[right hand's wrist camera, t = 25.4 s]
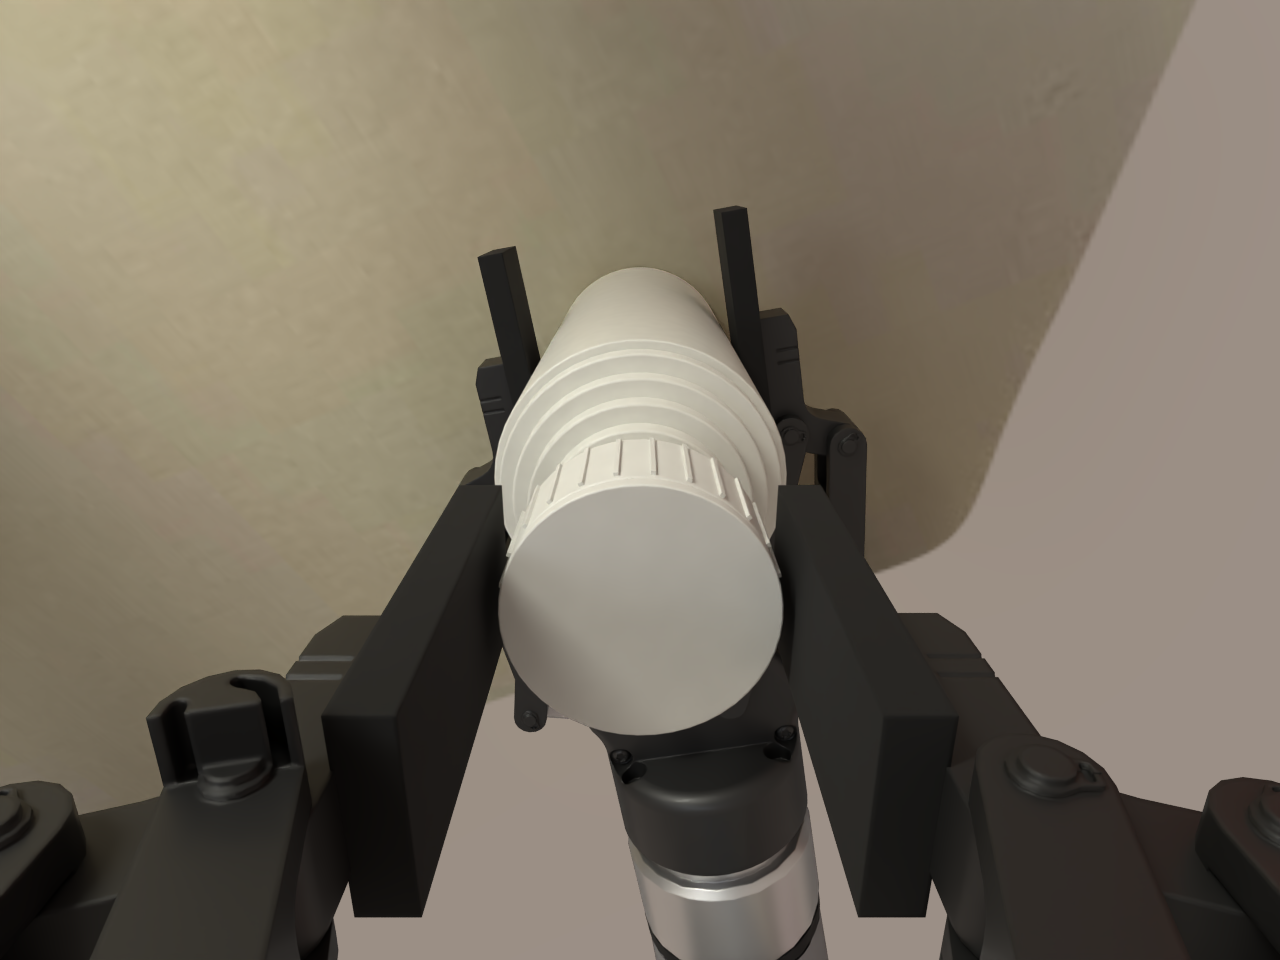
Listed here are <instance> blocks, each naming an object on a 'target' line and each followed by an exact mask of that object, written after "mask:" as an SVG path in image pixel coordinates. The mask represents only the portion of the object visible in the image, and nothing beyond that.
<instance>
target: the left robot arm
mask: <svg viewBox="0 0 1280 960" xmlns="http://www.w3.org/2000/svg"><path fill="white" fill-rule="evenodd" d="M713 212H714V219H715V227H716V234H717V242H718V249H719V257H720V264H721V271H722V279H723V286H724V294H725V301H726V309H727V316H728V324H729V331H730V338H731V345H732V347H733V349H734V350H735V352H736V354H737V356H738V357H739V359H740V361H741V363H742V364H743V366H744V368H745V370H746V371H747V373H748V375H749V377H750V378H751V380H752V382H753V384H754V385H755V387H756V389H757V391H758V392H759V394H760V396H761V398H762V399H763V401H764V403H765V405H766V407H767V408H768V410H769V412H770V414H771V416H772V417H773V419H774V421H775V424H776V426H777V429H778V431H779V434H780V437H781V440H782V444H783V449H784V453H785V461H786V472H787V476H786V485H798V481H799V477H800V473H801V469H802V465H803V461H804V457H805V453H806V452H807V453H813V454H815V485H821V486H822V488H823V490H824V491H825V493H826V495H827V496H828V498H829V500H830V501H831V503H832V505H833V506H834V508H835V510H836V511H837V513H838V515H839V516H840V518H841V520H842V521H843V523H844V525H845V526H846V528H847V530H848V531H849V533H850V535H851V536H852V538H853V540H854V541H855V543H856V545H857V546H858V548H859V550H860V551H861V553H862V555H863V556H864V541H865V501H866V462H867V442H866V438H865V436H864V435H863V433H862V432H861V431H860V430H859V429H858V428H857V426H856V425H855V424H854V423H853V422H852V421H851V420H850V419H849V418H848V416H847V415H846V414H845V413H844V412H842V411H841V410H839V409H828V410H822V409H817V408H812V407H809V406H807V405H805V403H804V398H803V388H802V379H801V369H800V361H799V350H798V341H797V331H796V328H795V326H794V324H793V322H792V320H791V319H790V317H789V315H788V314H787V313H786V312H785V311H784V310H783V309H782V308H777V309H771V310H766V311H760V312H759V305H758V297H757V289H756V280H755V272H754V264H753V255H752V247H751V239H750V230H749V222H748V214H747V208H745V207H740V206H731V207H726V208H720V209H715V210H713ZM478 261H479V266H480V270H481V274H482V278H483V282H484V287H485V291H486V295H487V299H488V303H489V308H490V312H491V316H492V320H493V325H494V329H495V333H496V337H497V341H498V346H499V350H500V354H501V357H495V358H490V359H486V360H485V361H484V362H483V363H482V364H481V365H480V366H479V368H478V371H477V379H476V388H477V392H478V396H479V399H480V403H481V407H482V411H483V415H484V419H485V423H486V427H487V431H488V435H489V439H490V443H491V447H492V451H493V460H491V461H490V462H488V463H486V464H485V465H483V466H481V467H475V468H473V469H471V470H469V471H468V472H467V474H466V475H465V476H464V478H463V480H462V481H461V483H460V485H495V478H494V477H495V459H496V454H497V449H498V444H499V440H500V437H501V435H502V432H503V429H504V426H505V424H506V422H507V420H508V418H509V416H510V414H511V412H512V410H513V408H514V406H515V405H516V403H517V401H518V399H519V397H520V396H521V394H522V392H523V390H524V389H525V387H526V385H527V383H528V382H529V380H530V378H531V376H532V374H533V373H534V371H535V369H536V367H537V366H538V364H539V362H540V360H541V359H540V355H539V350H538V346H537V341H536V337H535V332H534V328H533V323H532V319H531V314H530V310H529V305H528V301H527V296H526V291H525V287H524V282H523V278H522V273H521V269H520V264H519V260H518V255H517V251H516V246H513V247H507V248H502V249H497V250H492V251H490V252H488V253H486V254H483V255H481V256H479V257H478ZM504 527H505V525H504ZM511 540H512V539H511V537H510V536H509V534H508V532H507V530H506V528H505V542H506V554H507V551H508V548H509V546H510V543H511ZM774 542H775V530H774V532H773V534H772V536H771V538H770V543H771V547H772V550H773V553H774ZM506 558H507V559H508V557H507V556H506ZM502 647H503V650H504V652H505V655H506V657H507V660H508V662H509V665H510V667H511V670H512V673H513V675H514V678H515V707H514V719H515V723H516V725H517V726H518V727H519V728H520V729H522V730H523V731H527V732H536V731H538V730H540V729H542V728H543V727H544V726H545V723H546V720H547V717H551V718H567V719H569V718H568V717H566V716H564V715H562V714H561V713H559V712H557V711H555V710H554V709H553V708H551V707H550V706H549V705H547V704H546V703H545V702H543V701H542V700H541V699H540V698H539V697H538V696H537V695H536V694H535V693H534V692H533V691H532V690H530V688H529V687H528V686H527V685H526V683H525V682H524V681H523V680H522V679H521V677H520V676H519V674H518V673H517V671H516V669H515V668H514V666H513V665H512V663H511V661H510V659H509V656H508V654H507V652H506V650H505V647H504V644H503V646H502ZM798 717H799V716H798V713H797V710H796V706H795V703H794V700H793V696H792V693H791V690H790V686H789V683H788V680H787V676H786V673H785V669H784V666H783V663H782V659H781V656H780V653H779V649H778V646H777V649H776V652H775V654H774V656H773V658H772V660H771V662H770V664H769V666H768V668H767V669H766V671H765V672H764V674H763V675H762V676H761V678H760V679H759V681H758V682H757V683H756V684H755V685H754V687H753V688H752V689H751V690H750V691H749V692H748V693H747V694H746V695H745V696H744V697H743V698H742V699H740V700H739V701H738V702H737V703H736V704H735V705H733V706H732V707H730V708H729V709H727V710H726V711H724V712H723V713H721V714H720V715H718V716H716V717H714V718H712V719H710V720H708V721H706V722H704V723H701V724H698V725H696V726H693V727H691V728H687V729H683V730H679V731H676V732H671V733H664V734H657V735H625V734H617V733H611V732H606V731H602V730H598V729H595V728H592V727H590V729H591V730H592V731H593V732H594V733H595V734H596V735H597V736H598V737H599V738H600V739H601V741H602V742H603V743H604V745H605V747H606V749H607V752H608V757H609V761H610V765H611V769H612V774H613V778H614V782H615V786H616V791H617V795H618V799H619V804H620V808H621V812H622V817H623V821H624V825H625V829H626V832H627V834H628V836H629V841H628V844H629V848H630V852H631V856H632V860H633V864H634V869H635V872H636V877H637V881H638V885H639V889H640V893H641V897H642V901H643V906H644V910H645V915H646V919H647V922H648V926H649V930H650V933H651V936H652V941H653V946H654V952H655V957H656V960H828V955H827V949H826V943H825V937H824V931H823V925H822V919H821V913H820V899H819V891H818V890H819V881H818V874H817V866H816V859H815V852H814V844H813V837H812V830H811V822H810V815H809V810H808V807H807V790H806V782H805V774H804V766H803V758H802V750H801V742H800V734H799V727H798Z"/></svg>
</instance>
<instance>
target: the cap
mask: <svg viewBox="0 0 1280 960" xmlns="http://www.w3.org/2000/svg"><path fill="white" fill-rule="evenodd" d="M506 556H507V557H508V559H507V562H506V565H505V568H504V571H503V574H502V576H501V579H500V582H499V588H500V592H499V597H498V619H499V628H500V633H501V637H502V640H503V644H504V647H505V650H506V652H507V654H508V656H509V659H510V661H511V663H512V665H513V666H514V668H515V669H516V671H517V673H518V674H519V676H520V677H521V679H522V680H523V681H524V682H525V683H526V685H527V686H528V687H529V688H530V690H532V691H533V692H534V693H535V694H536V695H537V696H538V697H539V698H540V699H541V700H542V701H543V702H545V703H546V704H547V705H549V706H550V707H551V708H553V709H554V710H555V711H557V712H559V713H561V714H562V715H564V716H566V717H568V718H569V719H571V720H574V721H576V722H578V723H581V724H583V725H585V726H588V727H592V728H595V729H598V730H602V731H606V732H611V733H617V734H625V735H657V734H664V733H671V732H676V731H679V730H683V729H687V728H691V727H693V726H696V725H698V724H701V723H704V722H706V721H708V720H710V719H712V718H714V717H716V716H718V715H720V714H721V713H723V712H724V711H726V710H727V709H729V708H730V707H732V706H733V705H735V704H736V703H737V702H738V701H739V700H740V699H742V698H743V697H744V696H745V695H746V694H747V693H748V692H749V691H750V690H751V689H752V688H753V687H754V685H755V684H756V683H757V682H758V681H759V679H760V678H761V676H762V675H763V674H764V672H765V671H766V669H767V668H768V666H769V664H770V662H771V660H772V658H773V656H774V654H775V652H776V649H777V645H778V642H779V639H780V636H781V631H782V625H783V614H784V601H783V594H782V586H781V583H780V579H779V578H780V577H782V576H781V572H780V569H779V566H778V564H777V561H776V558H775V555H774V553H773V550H772V547H771V543H770V540H769V537H768V535H767V532H766V529H765V526H764V524H763V521H762V518H761V515H760V513H759V510H758V507H757V505H756V503H755V502H754V503H752V502H751V500H750V499H749V497H748V496H747V494H746V493H745V491H744V489H743V488H742V485H741V482H740V480H739V479H738V477H737V478H735V479H734V477H733V476H731V475H730V474H729V473H728V472H727V471H726V470H725V469H724V468H723V467H721V466H720V465H719V464H717V461H716V459H715V458H713V457H712V458H711V459H710V458H708V457H707V456H705V455H703V454H701V453H699V452H697V451H695V450H692V449H690V448H687V445H686V444H682V446H681V445H678V444H674V443H669V442H665V441H659V440H655V439H654V438H652V437H650V439H649V440H647V439H636V440H623V441H621V438H620V439H616V442H611V443H607V444H604V445H601V446H597V447H594V448H592V449H590V448H589V447H588V448H585V449H584V452H583V453H581V454H578V455H577V456H575V457H574V458H572V459H570V460H569V461H567V462H565V463H564V464H563V465H562V464H561V463H560V464H558V465H557V467H556V470H555V471H554V472H553V473H552V474H551V475H550V476H549V477H548V478H547V479H546V480H545V481H544V483H543V484H542V485H541V486H539V485H537V486H536V488H535V490H534V493H533V496H532V499H531V502H530V504H529V506H528V507H527V509H526V512H524V511H522V512H521V515H520V518H519V521H518V523H517V526H516V529H515V532H514V534H513V537H512V540H511V543H510V546H509V548H508V551H507V554H506Z"/></svg>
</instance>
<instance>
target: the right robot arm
mask: <svg viewBox="0 0 1280 960" xmlns="http://www.w3.org/2000/svg"><path fill="white" fill-rule="evenodd" d="M774 555H775V558H776V561H777V564H778V566H779V569H780V572H781V576H782V577H780V578H779V579H780V583H781V586H782V594H783V601H784V614H783V625H782V631H781V636H780V639H779V642H778V645H777V646H778V649H779V653H780V656H781V659H782V663H783V666H784V669H785V673H786V676H787V680H788V683H789V686H790V690H791V693H792V696H793V700H794V703H795V706H796V710H797V713H798V716H799V720H800V723H801V727H802V730H803V733H804V737H805V740H806V743H807V747H808V750H809V753H810V757H811V760H812V763H813V767H814V770H815V773H816V777H817V780H818V784H819V787H820V790H821V794H822V797H823V800H824V804H825V807H826V811H827V814H828V817H829V821H830V824H831V827H832V831H833V834H834V837H835V841H836V844H837V847H838V851H839V854H840V857H841V861H842V864H843V867H844V871H845V874H846V878H847V881H848V884H849V888H850V891H851V894H852V898H853V901H854V905H855V908H856V911H857V914H858V917H926V911H927V905H928V899H929V893H930V887H931V881H932V879H933V882H934V884H935V886H936V889H937V891H938V894H939V896H940V898H941V901H942V903H943V906H944V908H945V910H946V913H947V919H946V925H945V930H944V936H943V942H942V947H941V953H940V958H939V960H1280V783H1277V782H1274V781H1269V780H1261V779H1253V778H1245V777H1241V778H1234V779H1228V780H1221V781H1220V782H1219V783H1218V784H1216V785H1215V786H1214V787H1213V788H1212V789H1210V790H1209V793H1208V796H1207V799H1206V802H1205V805H1204V809H1203V812H1200V811H1195V810H1191V809H1186V808H1182V807H1177V806H1172V805H1168V804H1163V803H1159V802H1154V801H1149V800H1145V799H1140V798H1137V797H1133V796H1130V795H1126V794H1122V793H1119V791H1118V789H1117V786H1116V785H1115V783H1114V782H1113V781H1112V779H1111V778H1110V776H1109V775H1108V774H1107V772H1106V771H1105V769H1104V768H1103V767H1101V766H1100V765H1099V764H1097V763H1096V762H1095V761H1094V760H1092V759H1091V758H1090V757H1088V756H1087V755H1086V754H1084V753H1083V752H1081V751H1079V750H1077V749H1075V748H1073V747H1070V746H1068V745H1066V744H1064V743H1062V742H1060V741H1058V740H1054V739H1050V738H1046V737H1042V736H1040V734H1039V733H1038V731H1037V730H1036V729H1035V727H1034V726H1033V725H1032V723H1031V722H1030V720H1029V719H1028V718H1027V716H1026V715H1025V714H1024V712H1023V711H1022V709H1021V708H1020V707H1019V705H1018V704H1017V703H1016V701H1015V700H1014V698H1013V697H1012V696H1011V694H1010V693H1009V692H1008V690H1007V689H1006V687H1005V686H1004V685H1003V683H1002V682H1001V681H1000V679H999V678H998V677H995V672H994V671H993V669H992V668H991V667H990V665H989V664H988V663H987V661H986V660H985V659H983V658H981V653H980V652H979V650H978V649H977V647H976V646H975V645H974V643H973V642H972V641H971V639H970V638H969V637H968V635H967V634H966V632H964V631H963V630H962V629H960V628H959V627H957V626H956V625H954V624H953V623H951V622H950V621H948V620H947V619H945V618H944V617H942V616H941V615H939V614H938V613H897V611H896V610H895V608H894V606H893V605H892V603H891V601H890V600H889V598H888V596H887V595H886V593H885V591H884V590H883V588H882V586H881V585H880V583H879V581H878V580H877V578H876V576H875V575H874V573H873V571H872V570H871V568H870V566H869V565H868V563H867V561H866V560H865V558H864V556H863V555H862V553H861V551H860V550H859V548H858V546H857V545H856V543H855V541H854V540H853V538H852V536H851V535H850V533H849V531H848V530H847V528H846V526H845V525H844V523H843V521H842V520H841V518H840V516H839V515H838V513H837V511H836V510H835V508H834V506H833V505H832V503H831V501H830V500H829V498H828V496H827V495H826V493H825V491H824V490H823V488H822V486H821V485H778V496H777V512H776V527H775V542H774ZM506 562H507V558H506V542H505V527H504V512H503V496H502V485H459V486H458V488H457V490H456V491H455V493H454V495H453V496H452V498H451V500H450V501H449V503H448V505H447V506H446V508H445V510H444V511H443V513H442V515H441V516H440V518H439V520H438V521H437V523H436V525H435V526H434V528H433V530H432V531H431V533H430V535H429V536H428V538H427V540H426V541H425V543H424V545H423V546H422V548H421V550H420V551H419V553H418V555H417V556H416V558H415V560H414V561H413V563H412V565H411V566H410V568H409V570H408V571H407V573H406V575H405V576H404V578H403V580H402V581H401V583H400V585H399V586H398V588H397V590H396V591H395V593H394V595H393V596H392V598H391V600H390V601H389V603H388V605H387V606H386V608H385V610H384V611H383V613H382V615H381V616H342V617H340V618H339V619H337V620H336V621H334V622H333V623H332V624H330V625H329V626H327V627H326V628H324V629H323V630H321V631H320V632H318V633H317V634H315V636H314V637H313V638H312V640H311V641H310V642H309V644H308V645H307V647H306V648H305V649H304V651H303V652H302V654H301V655H300V656H299V661H296V662H295V663H294V665H293V666H292V667H291V669H290V670H289V672H288V673H287V674H286V679H284V678H283V677H282V676H281V675H280V674H276V673H272V672H268V671H264V670H235V671H230V672H226V673H221V674H217V675H212V676H208V677H205V678H203V679H200V680H198V681H196V682H193V683H191V684H188V685H186V686H184V687H181V688H180V689H178V690H177V691H175V692H174V693H172V694H171V695H169V696H168V697H166V698H165V699H163V700H162V701H160V702H159V703H158V704H157V706H156V707H155V708H154V709H153V710H152V712H151V713H150V714H149V715H148V716H147V717H146V720H147V724H148V728H149V732H150V736H151V739H152V743H153V747H154V751H155V755H156V759H157V763H158V766H159V770H160V774H161V778H162V782H163V786H164V788H163V790H162V792H161V795H160V796H159V797H156V798H152V799H149V800H145V801H142V802H137V803H133V804H128V805H124V806H119V807H114V808H110V809H105V810H101V811H96V812H91V813H87V814H82V815H78V812H77V809H76V805H75V802H74V799H73V796H72V794H71V793H70V792H69V791H68V790H67V789H65V788H64V787H63V786H62V785H61V784H57V783H50V782H44V781H32V782H24V783H16V784H9V785H6V786H3V787H0V960H337V958H338V945H337V937H336V930H335V925H334V919H333V917H334V914H335V912H336V909H337V907H338V905H339V902H340V900H341V898H342V895H343V893H344V890H345V888H346V886H347V883H348V881H349V887H350V893H351V899H352V905H353V911H354V917H422V915H423V911H424V908H425V905H426V901H427V898H428V894H429V891H430V888H431V884H432V881H433V878H434V874H435V871H436V868H437V864H438V861H439V857H440V854H441V851H442V847H443V844H444V840H445V837H446V834H447V830H448V827H449V824H450V820H451V817H452V814H453V810H454V807H455V804H456V800H457V797H458V794H459V790H460V787H461V784H462V780H463V777H464V773H465V770H466V767H467V763H468V760H469V757H470V753H471V750H472V747H473V743H474V740H475V737H476V733H477V730H478V726H479V723H480V720H481V716H482V713H483V710H484V706H485V703H486V700H487V696H488V693H489V690H490V686H491V683H492V679H493V676H494V673H495V669H496V666H497V663H498V659H499V656H500V653H501V649H502V646H503V640H502V637H501V633H500V628H499V619H498V597H499V592H500V588H499V582H500V579H501V576H502V574H503V571H504V568H505V565H506Z"/></svg>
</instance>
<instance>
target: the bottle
mask: <svg viewBox="0 0 1280 960" xmlns="http://www.w3.org/2000/svg"><path fill="white" fill-rule="evenodd" d="M650 437H652V438H654V439H655V440H659V441H665V442H669V443H674V444H678V445H681V446H682V444H686V445H687V448H690V449H692V450H695V451H697V452H699V453H701V454H703V455H705V456H707V457H708V458H710V459H711V458H712V457H713V458H715V459H716V461H717V464H719V465H720V466H721V467H723V468H724V469H725V470H726V471H727V472H728V473H729V474H730V475H731V476H733V477H734V479H735V478H737V477H738V479H739V480H740V482H741V485H742V488H743V489H744V491H745V493H746V494H747V496H748V497H749V499H750V500H751V502H752V503H754V502H755V503H756V505H757V507H758V510H759V513H760V515H761V518H762V521H763V524H764V526H765V529H766V532H767V535H768V537H769V540H770V538H771V536H772V534H773V532H774V530H775V527H776V512H777V496H778V485H786V476H787V472H786V461H785V453H784V449H783V444H782V440H781V437H780V434H779V431H778V429H777V426H776V424H775V421H774V419H773V417H772V416H771V414H770V412H769V410H768V408H767V407H766V405H765V403H764V401H763V399H762V398H761V396H760V394H759V392H758V391H757V389H756V387H755V385H754V384H753V382H752V380H751V378H750V377H749V375H748V373H747V371H746V370H745V368H744V366H743V364H742V363H741V361H740V359H739V357H738V356H737V354H736V352H735V350H734V349H733V347H732V345H731V343H730V341H729V340H728V338H727V336H726V334H725V333H724V331H723V329H722V327H721V326H720V324H719V322H718V320H717V319H716V317H715V315H714V313H713V312H712V310H711V308H710V306H709V305H708V303H707V302H706V300H705V299H704V298H703V296H702V295H701V294H700V293H699V292H698V291H697V290H696V289H695V288H694V287H693V286H691V285H690V284H689V283H688V282H686V281H685V280H683V279H681V278H680V277H678V276H676V275H674V274H671V273H669V272H666V271H663V270H659V269H655V268H647V267H633V268H626V269H621V270H618V271H614V272H611V273H609V274H607V275H605V276H602V277H601V278H599V279H598V280H596V281H594V282H593V283H592V284H590V285H589V286H588V287H587V288H585V289H584V290H583V292H582V293H581V294H580V295H579V296H578V297H577V298H576V300H575V301H574V303H573V304H572V305H571V307H570V309H569V311H568V312H567V314H566V316H565V318H564V319H563V321H562V323H561V325H560V327H559V328H558V330H557V332H556V334H555V335H554V337H553V339H552V341H551V343H550V344H549V346H548V348H547V350H546V351H545V353H544V355H543V357H542V358H541V360H540V362H539V364H538V366H537V367H536V369H535V371H534V373H533V374H532V376H531V378H530V380H529V382H528V383H527V385H526V387H525V389H524V390H523V392H522V394H521V396H520V397H519V399H518V401H517V403H516V405H515V406H514V408H513V410H512V412H511V414H510V416H509V418H508V420H507V422H506V424H505V426H504V429H503V432H502V435H501V437H500V440H499V444H498V449H497V454H496V459H495V477H494V478H495V485H502V496H503V512H504V525H505V528H506V530H507V532H508V534H509V536H510V537H511V539H512V537H513V534H514V532H515V529H516V526H517V523H518V521H519V518H520V515H521V512H522V511H524V512H526V509H527V507H528V506H529V504H530V502H531V499H532V496H533V493H534V490H535V488H536V486H537V485H539V486H541V485H542V484H543V483H544V481H545V480H546V479H547V478H548V477H549V476H550V475H551V474H552V473H553V472H554V471H555V470H556V467H557V465H558V464H560V463H561V464H562V465H563V464H564V463H565V462H567V461H569V460H570V459H572V458H574V457H575V456H577V455H578V454H581V453H583V452H584V449H585V448H588V447H589V448H590V449H592V448H594V447H597V446H601V445H604V444H607V443H611V442H616V439H620V438H621V441H623V440H636V439H647V440H649V439H650Z"/></svg>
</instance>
